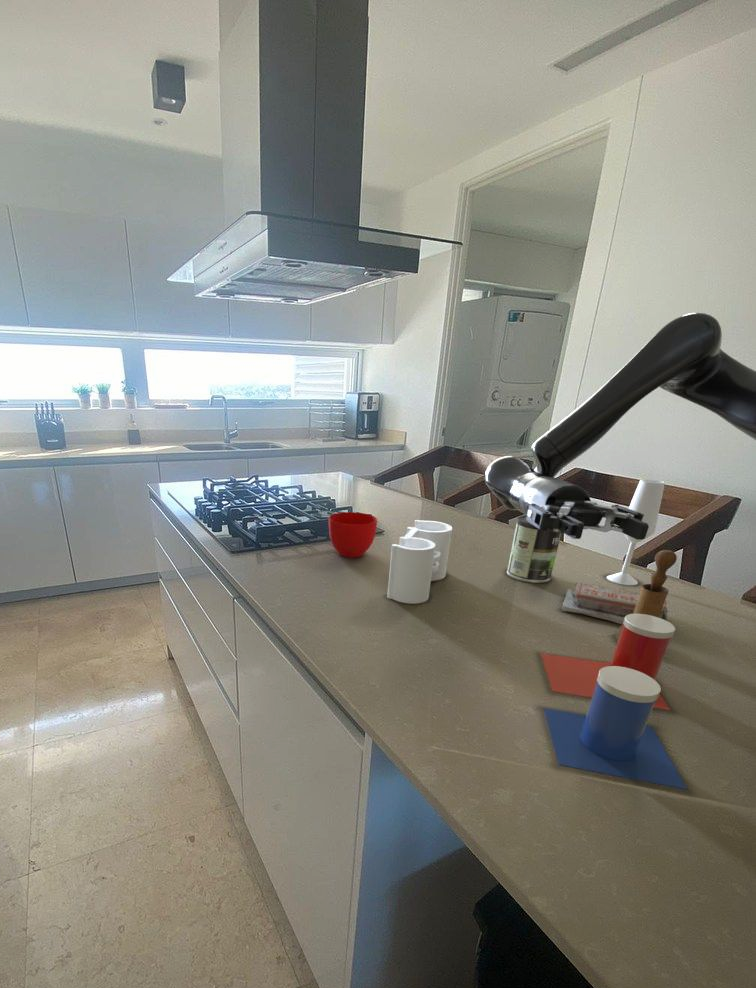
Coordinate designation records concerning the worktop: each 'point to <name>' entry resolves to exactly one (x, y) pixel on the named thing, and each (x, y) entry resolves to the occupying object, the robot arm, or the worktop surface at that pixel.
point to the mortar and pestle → (655, 587)
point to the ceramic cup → (352, 532)
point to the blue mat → (643, 766)
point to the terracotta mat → (578, 676)
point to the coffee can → (532, 553)
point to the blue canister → (619, 712)
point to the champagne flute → (649, 505)
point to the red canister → (643, 643)
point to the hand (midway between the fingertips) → (612, 532)
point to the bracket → (418, 561)
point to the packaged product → (603, 602)
